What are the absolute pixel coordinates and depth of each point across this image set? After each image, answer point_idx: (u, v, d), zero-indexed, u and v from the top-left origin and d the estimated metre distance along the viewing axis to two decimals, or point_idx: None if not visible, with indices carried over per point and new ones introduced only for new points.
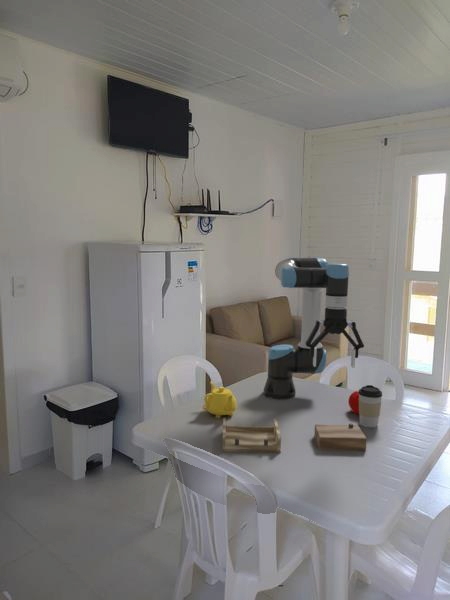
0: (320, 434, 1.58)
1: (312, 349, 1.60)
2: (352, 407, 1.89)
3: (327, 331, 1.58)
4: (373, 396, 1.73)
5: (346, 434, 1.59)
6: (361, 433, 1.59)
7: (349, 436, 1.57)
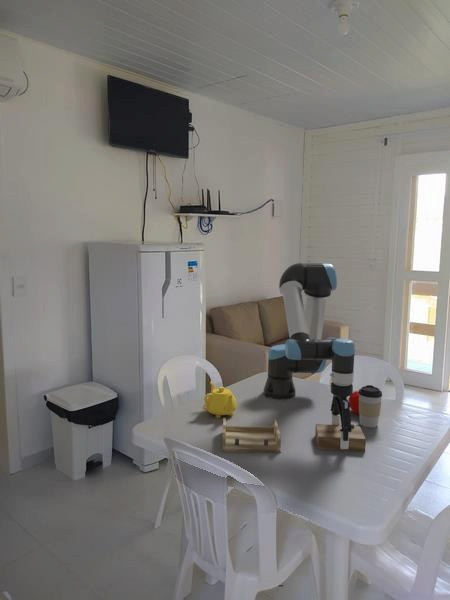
0: (319, 433, 1.59)
1: None
2: (352, 407, 1.89)
3: (334, 402, 1.63)
4: (373, 396, 1.73)
5: None
6: (361, 434, 1.59)
7: None
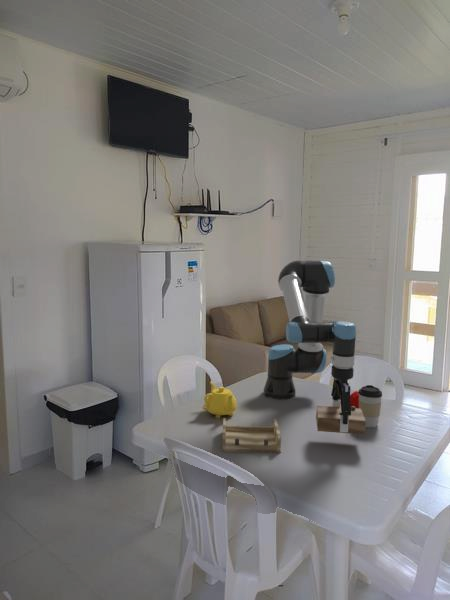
0: (319, 414, 1.59)
1: None
2: None
3: (334, 386, 1.62)
4: (373, 396, 1.73)
5: None
6: (361, 416, 1.58)
7: None
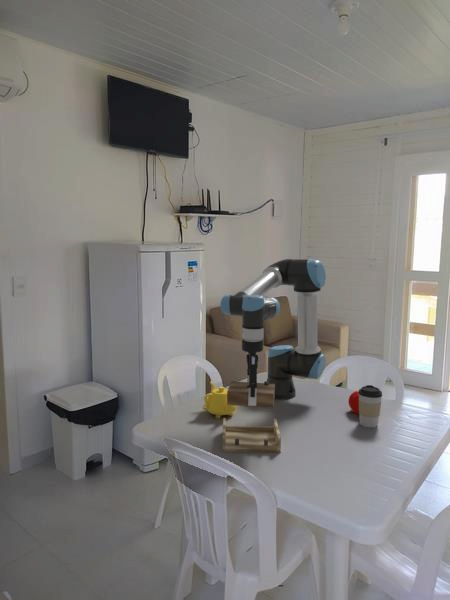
0: (229, 388, 1.57)
1: (248, 376, 1.66)
2: (352, 407, 1.89)
3: None
4: (373, 396, 1.73)
5: None
6: (272, 389, 1.57)
7: (257, 391, 1.55)
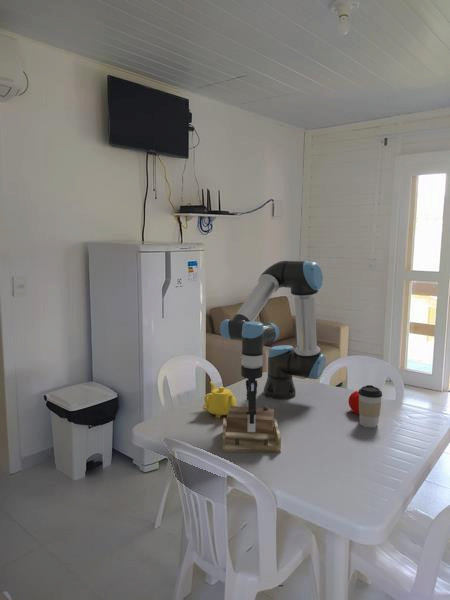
0: (229, 414, 1.59)
1: None
2: (352, 407, 1.89)
3: None
4: (373, 396, 1.73)
5: None
6: (271, 415, 1.58)
7: (256, 417, 1.56)
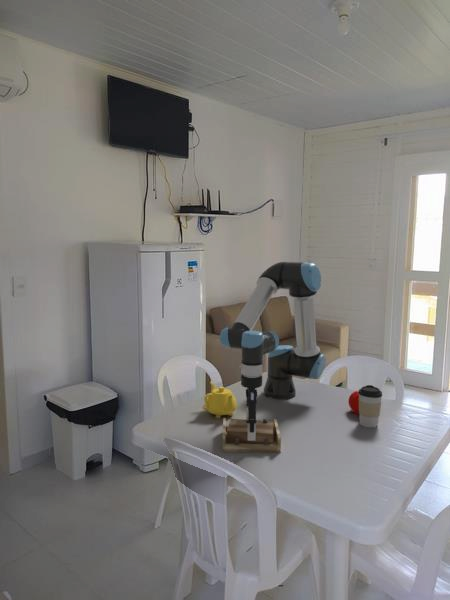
0: (229, 428, 1.59)
1: (248, 407, 1.69)
2: (352, 407, 1.89)
3: None
4: (373, 396, 1.73)
5: None
6: (271, 429, 1.59)
7: (256, 431, 1.57)
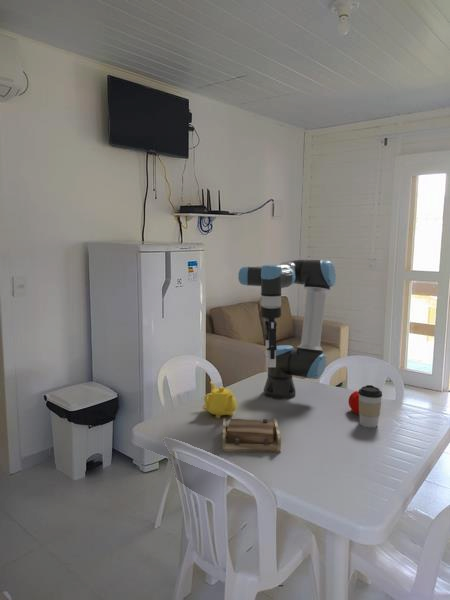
0: (229, 428, 1.59)
1: None
2: (352, 407, 1.89)
3: (265, 326, 1.71)
4: (373, 396, 1.73)
5: (255, 428, 1.59)
6: (271, 429, 1.59)
7: (256, 431, 1.57)
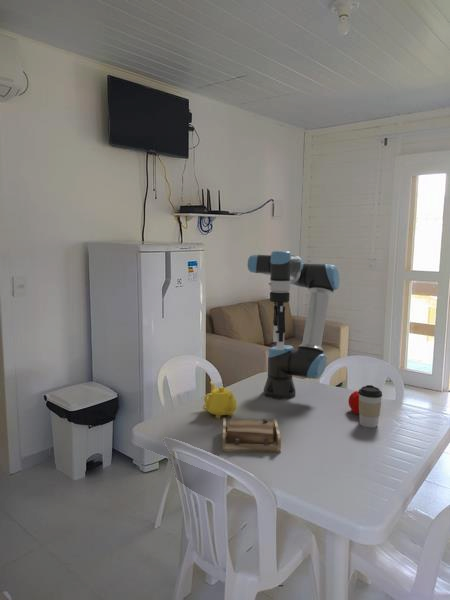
0: (229, 428, 1.59)
1: (274, 326, 1.82)
2: (352, 407, 1.89)
3: (274, 311, 1.76)
4: (373, 396, 1.73)
5: (255, 428, 1.59)
6: (271, 429, 1.59)
7: (256, 431, 1.57)
